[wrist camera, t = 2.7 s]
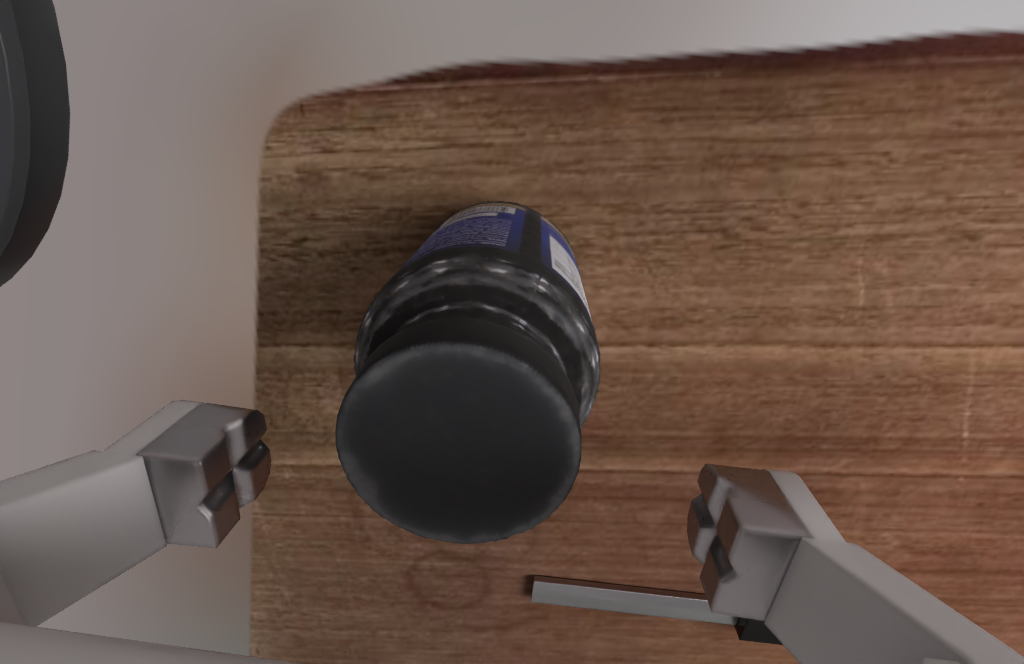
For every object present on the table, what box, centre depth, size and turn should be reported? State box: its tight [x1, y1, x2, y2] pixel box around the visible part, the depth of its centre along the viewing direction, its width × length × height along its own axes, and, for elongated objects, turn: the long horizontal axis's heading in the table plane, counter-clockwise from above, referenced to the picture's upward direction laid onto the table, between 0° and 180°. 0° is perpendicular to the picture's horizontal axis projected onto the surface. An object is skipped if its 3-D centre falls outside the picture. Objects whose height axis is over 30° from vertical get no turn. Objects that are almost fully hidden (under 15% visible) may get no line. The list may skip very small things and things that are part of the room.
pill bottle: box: [336, 201, 600, 544], centre depth 14 cm, size 6×6×11 cm
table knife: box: [531, 575, 783, 645], centre depth 25 cm, size 19×2×1 cm, turn 85°
